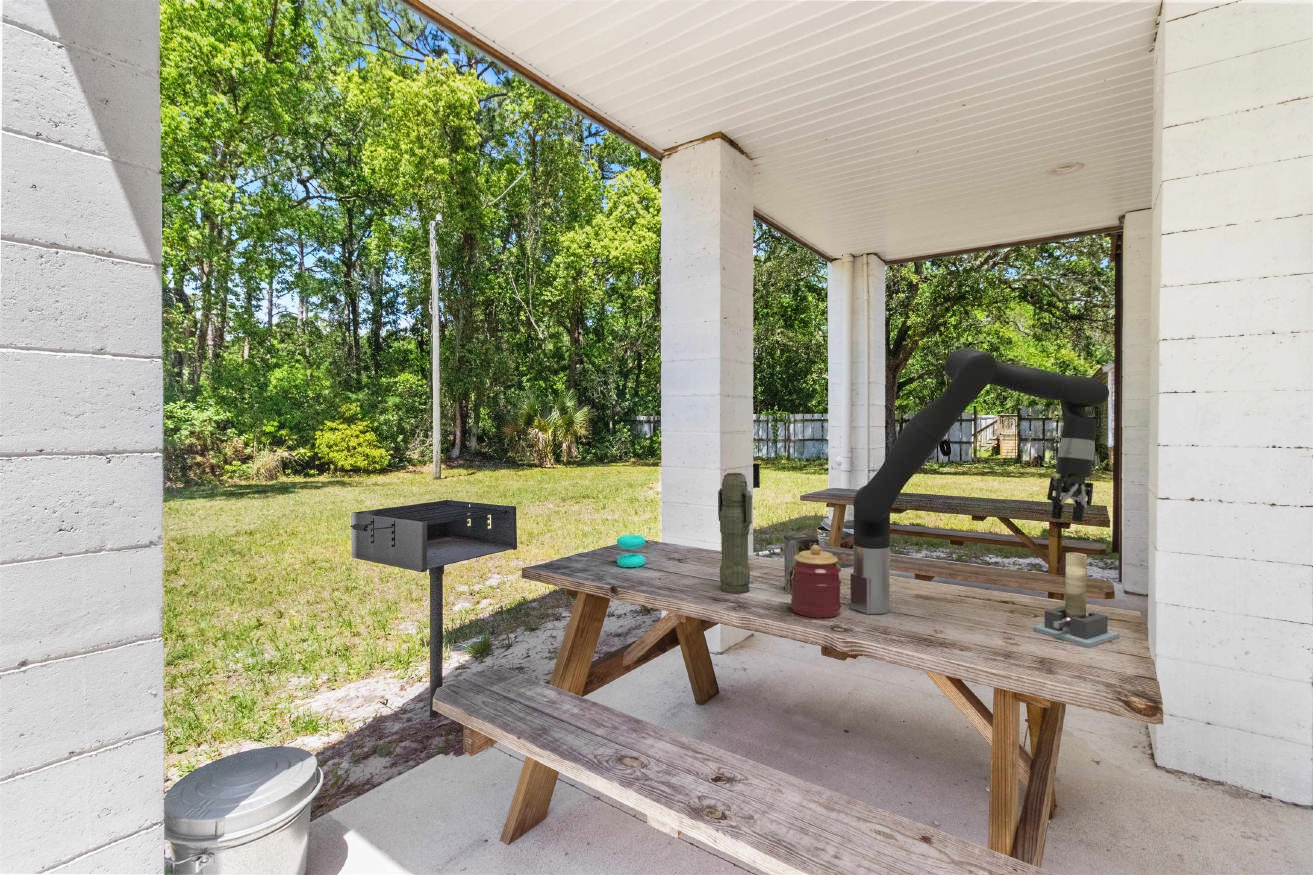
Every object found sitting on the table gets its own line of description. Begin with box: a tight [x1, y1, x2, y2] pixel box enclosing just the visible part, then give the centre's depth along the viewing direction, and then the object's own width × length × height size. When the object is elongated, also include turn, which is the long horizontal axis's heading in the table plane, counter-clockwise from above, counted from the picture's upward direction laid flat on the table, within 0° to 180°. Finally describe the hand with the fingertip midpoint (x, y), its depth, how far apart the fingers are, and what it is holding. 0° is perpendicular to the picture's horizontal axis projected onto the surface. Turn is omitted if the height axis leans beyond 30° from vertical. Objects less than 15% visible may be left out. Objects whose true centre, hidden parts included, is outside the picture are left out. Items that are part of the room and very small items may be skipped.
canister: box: [790, 545, 842, 619], centre depth 158 cm, size 13×13×18 cm
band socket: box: [1032, 605, 1120, 649], centre depth 140 cm, size 13×12×5 cm
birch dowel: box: [1064, 551, 1088, 631], centre depth 139 cm, size 4×4×18 cm
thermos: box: [717, 472, 753, 595], centre depth 177 cm, size 9×12×35 cm
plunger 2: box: [1086, 610, 1098, 618], centre depth 142 cm, size 6×2×2 cm, turn 117°
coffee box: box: [783, 534, 820, 594], centre depth 176 cm, size 9×6×16 cm
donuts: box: [616, 534, 646, 568], centre depth 208 cm, size 10×10×10 cm
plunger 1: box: [1053, 617, 1071, 628], centre depth 137 cm, size 6×2×2 cm, turn 117°
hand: (1066, 520), depth 151 cm, fingers open, 8 cm apart
